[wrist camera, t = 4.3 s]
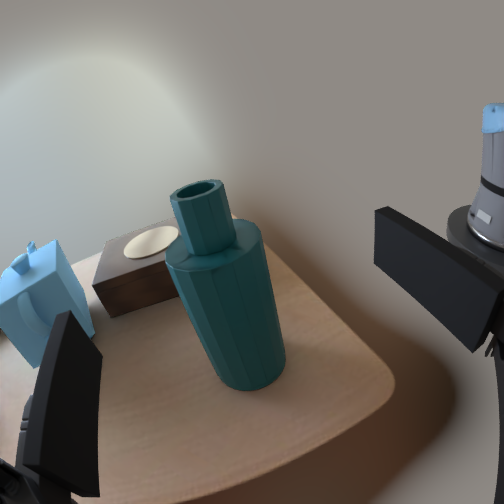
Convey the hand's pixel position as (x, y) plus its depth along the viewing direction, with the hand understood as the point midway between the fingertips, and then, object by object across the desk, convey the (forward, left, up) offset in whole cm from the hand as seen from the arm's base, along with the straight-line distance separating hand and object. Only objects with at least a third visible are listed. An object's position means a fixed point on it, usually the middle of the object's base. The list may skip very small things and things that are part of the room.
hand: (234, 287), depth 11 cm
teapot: (+26, -26, -17) cm, 40 cm away
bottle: (0, -10, -17) cm, 19 cm away
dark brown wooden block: (+8, -32, -17) cm, 37 cm away
